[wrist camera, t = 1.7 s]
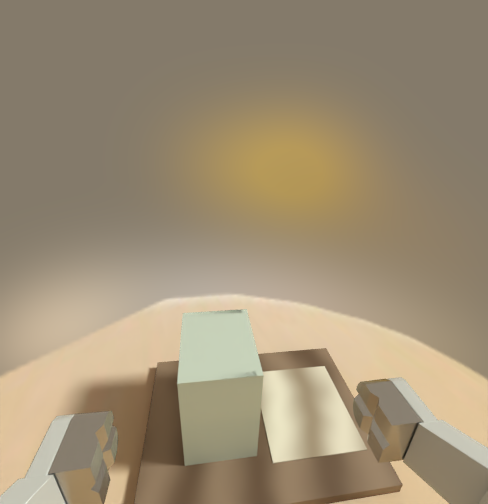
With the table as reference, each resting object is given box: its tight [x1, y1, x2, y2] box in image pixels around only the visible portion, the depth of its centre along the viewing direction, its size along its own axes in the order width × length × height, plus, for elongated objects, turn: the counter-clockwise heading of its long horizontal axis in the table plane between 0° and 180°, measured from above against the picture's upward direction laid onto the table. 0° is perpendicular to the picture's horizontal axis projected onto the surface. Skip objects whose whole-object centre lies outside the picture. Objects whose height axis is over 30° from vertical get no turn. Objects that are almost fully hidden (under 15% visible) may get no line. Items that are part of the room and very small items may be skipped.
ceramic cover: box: [177, 309, 264, 466], centre depth 27 cm, size 6×8×10 cm
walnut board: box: [134, 348, 402, 504], centre depth 30 cm, size 22×16×1 cm
